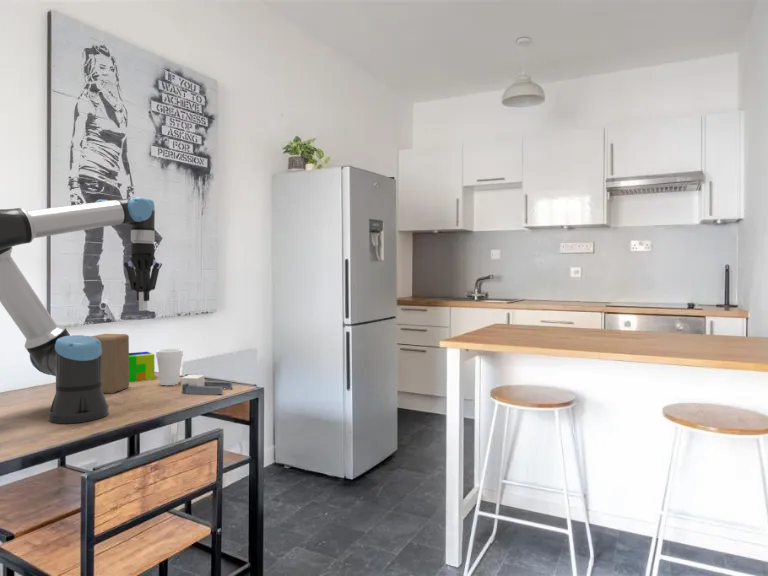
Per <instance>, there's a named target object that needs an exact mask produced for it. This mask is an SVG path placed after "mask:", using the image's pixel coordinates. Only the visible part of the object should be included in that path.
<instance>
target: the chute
mask: <svg viewBox="0 0 768 576" xmlns="http://www.w3.org/2000/svg"><path fill="white" fill-rule="evenodd" d="M224 388H225V389H231V388H232V389H233V381H218V380H217V381H216V380H215V381H214V380H205V386H188V384H183V385H182V392H181V393H187V394H186V395H203V394H222V393H223V391H224V390H225V389H224ZM232 389H231V390H232ZM188 393H189V394H188ZM223 394H224V393H223ZM223 394H222V395H223Z"/></svg>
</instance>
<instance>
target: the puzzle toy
mask: <svg viewBox="0 0 768 576" xmlns="http://www.w3.org/2000/svg"><path fill="white" fill-rule="evenodd" d="M149 379H153V380H155V354H154V353H152V352H149V351H139V352H129V383H136V382H143V381H142V380H145V381H150V380H149ZM135 381H136V382H135Z"/></svg>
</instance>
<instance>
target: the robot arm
mask: <svg viewBox="0 0 768 576" xmlns="http://www.w3.org/2000/svg"><path fill="white" fill-rule="evenodd" d="M155 213H156V209H155V201H154V200H153V199H151V198H147V197H142V196H141V197H140V196H133V197H127V198H122V199H121V198H120V199H119V198H118V199H114V200H109V199H98V200H95V202H89V203H87V202H86V203H80V204H72V205H65V206H62V205H61V206H55V207H47V208H38V209H31V210H25V209H24V208H21V207H18V208H7V209H6V208H4V209H2V208H1V209H0V303H1V306H2V307H3V309H5V311H6V312H7V314H8V315H9V317H10V318H11V319H12V321H13V322H14V323H15V325H16V326H17V328H18V329H19V331H21V334H22V335H23V337H24V338H25V339H26V340H25V343H24V348H25V350H26V351H27V352H28V354H29V360H30V363H31V365H32V366H33V367H34V368H35V369H36V370H37V371H38V372H40V373H42V374H45V375H48V376H53V377H55V395H54V397H53V401H52V403H51V405H50V409H49V411H48V421H49V422H51V423H56V424H76V423H84V422H90V421H95V420H98V419H99V420H100V419H102V418H104V417H106V416H107V415H109V404H108V402H107V399H106V397H105V393H103V391H102V385H101V381H102V349H101V342H100V340H99V339H97V338H95V337H92V336H93V335H83V334H82V335H81V334H80V335H79V334H78V335H77V334H75V335H70V332H69V331H68V330H67V328H66V327H65V326H64V325H61V324H57V323H56V321H54V319H53V317H52V316H51V315H50V313H49V311H48V310H47V308H46V306H45V305H44V304H43V302H42V301H41V300H40V298H39V296H38V295H37V294H36V292H35V290H34V289H33V287H32V286H31V285H30V282H28V280H27V279H26V277H25V275H24V274H23V273H22V271H21V269H20V268H19V266H18V265H17V263H16V262H15V261H14V259H13V257H12V256H11V255H12V251H13V247H16V246H20V245H25V244H30V243H32V241H34V239H37V238H44V237H49V236H55V235H62V234H69V233H73V232H74V233H75V232H80V231H87V230H93V229H98V228H103V227H111V226H117V225H126V226H127V225H129V226H130V242H131V244H130V253H131V257H130V260H129V261H127V262H124V263H123V266H124V267H125V269H126V272H127V276H128V281H129V285H130V290H131V291H132V290H133V291H135V292H136V300H137V302H138V311H139V312H141V311H143V312H145V311H148V302H149V301H150V293H151V291H155V289H156V286H157V281H158V276H159V272H160V269H161V268H162V266H163V264H162V263H161V262H158V261H157V260H156V257H155V253H156V251H155V250H156V248H155V247H156V246H155V241H156V240H155V232H156V231H155V224H156V223H155V215H156V214H155Z"/></svg>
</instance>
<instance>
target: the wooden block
mask: <svg viewBox="0 0 768 576" xmlns="http://www.w3.org/2000/svg"><path fill="white" fill-rule="evenodd" d="M91 336H92V337H95V338H97V339H99V340H100V342H101V349H102V381H101V385H102V391H103V394H114V393H117V391H118V392H120V391H122V390H125V389H128V388H129V385H130V382H129V353H130V344H129V343H130V341H129V339H130V338H129V334H127V333H103V334H101V333H100V334H96V335H91Z"/></svg>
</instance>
